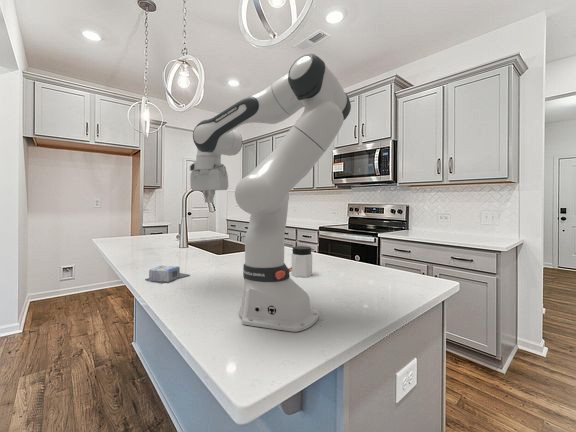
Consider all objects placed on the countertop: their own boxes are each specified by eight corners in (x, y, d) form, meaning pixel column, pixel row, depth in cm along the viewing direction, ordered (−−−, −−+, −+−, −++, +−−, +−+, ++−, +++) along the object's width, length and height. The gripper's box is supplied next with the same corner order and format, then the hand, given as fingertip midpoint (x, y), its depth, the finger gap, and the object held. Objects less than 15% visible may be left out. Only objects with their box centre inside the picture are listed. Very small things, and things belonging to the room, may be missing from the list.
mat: (190, 275, 126) (190, 274, 126) (162, 283, 114) (162, 282, 114) (173, 272, 131) (173, 271, 131) (145, 280, 119) (145, 279, 119)
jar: (300, 271, 135) (300, 245, 134) (315, 274, 130) (315, 247, 129) (287, 275, 128) (288, 247, 127) (303, 278, 123) (303, 249, 122)
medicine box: (168, 270, 114) (148, 269, 116) (168, 282, 115) (148, 280, 116) (180, 266, 122) (161, 265, 124) (180, 277, 122) (161, 275, 124)
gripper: (232, 164, 106) (232, 203, 107) (201, 168, 120) (201, 202, 121) (217, 162, 101) (217, 203, 102) (187, 166, 115) (187, 202, 116)
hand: (208, 202), depth 112 cm, fingers closed
